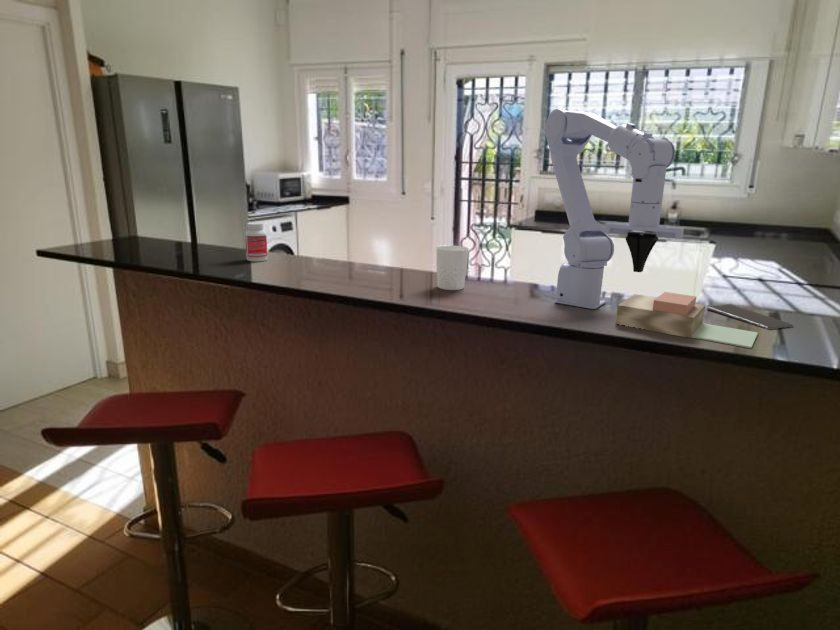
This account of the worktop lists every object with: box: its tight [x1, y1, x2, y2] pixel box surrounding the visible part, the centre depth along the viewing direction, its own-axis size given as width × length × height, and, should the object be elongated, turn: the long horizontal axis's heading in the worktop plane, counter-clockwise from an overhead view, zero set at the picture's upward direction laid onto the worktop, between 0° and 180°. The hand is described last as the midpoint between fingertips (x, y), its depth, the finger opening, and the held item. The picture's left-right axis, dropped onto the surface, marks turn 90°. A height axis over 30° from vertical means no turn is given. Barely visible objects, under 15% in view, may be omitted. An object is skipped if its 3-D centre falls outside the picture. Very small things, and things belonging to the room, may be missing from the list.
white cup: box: [435, 245, 469, 291], centre depth 142 cm, size 8×8×10 cm
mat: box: [691, 322, 759, 349], centre depth 109 cm, size 10×11×1 cm
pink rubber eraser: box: [653, 291, 697, 316], centre depth 112 cm, size 6×9×2 cm, turn 145°
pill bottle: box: [244, 222, 268, 263], centre depth 171 cm, size 6×6×11 cm
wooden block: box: [615, 294, 706, 339], centre depth 115 cm, size 14×12×4 cm
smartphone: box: [706, 304, 794, 330], centre depth 122 cm, size 7×1×16 cm
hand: (638, 271), depth 115 cm, fingers closed
